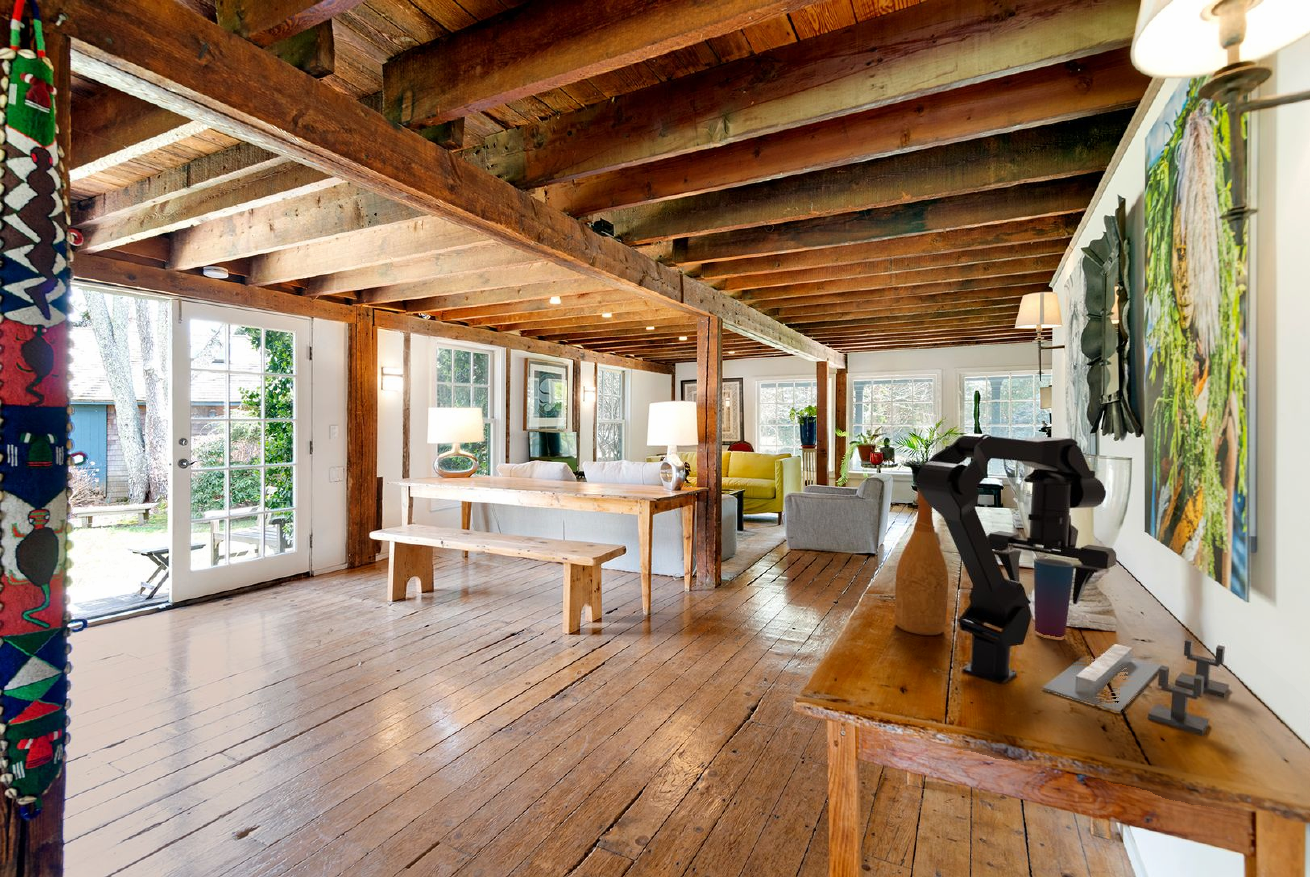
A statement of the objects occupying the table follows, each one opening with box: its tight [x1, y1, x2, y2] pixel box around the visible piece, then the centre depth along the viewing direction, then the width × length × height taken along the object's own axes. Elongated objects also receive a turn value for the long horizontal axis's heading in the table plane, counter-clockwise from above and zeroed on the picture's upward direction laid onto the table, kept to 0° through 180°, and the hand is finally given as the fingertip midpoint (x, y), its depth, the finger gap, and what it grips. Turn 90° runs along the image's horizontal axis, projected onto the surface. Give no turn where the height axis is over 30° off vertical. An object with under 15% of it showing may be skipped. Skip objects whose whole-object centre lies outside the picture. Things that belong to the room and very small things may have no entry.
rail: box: [1075, 643, 1133, 697], centre depth 104 cm, size 23×2×2 cm, turn 131°
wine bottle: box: [894, 487, 949, 636], centre depth 125 cm, size 10×10×30 cm
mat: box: [1042, 654, 1162, 712], centre depth 104 cm, size 28×10×1 cm, turn 131°
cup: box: [1033, 557, 1075, 637], centre depth 124 cm, size 7×7×15 cm
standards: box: [1147, 637, 1230, 736], centre depth 95 cm, size 24×6×7 cm, turn 131°
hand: (1044, 597), depth 109 cm, fingers open, 9 cm apart
